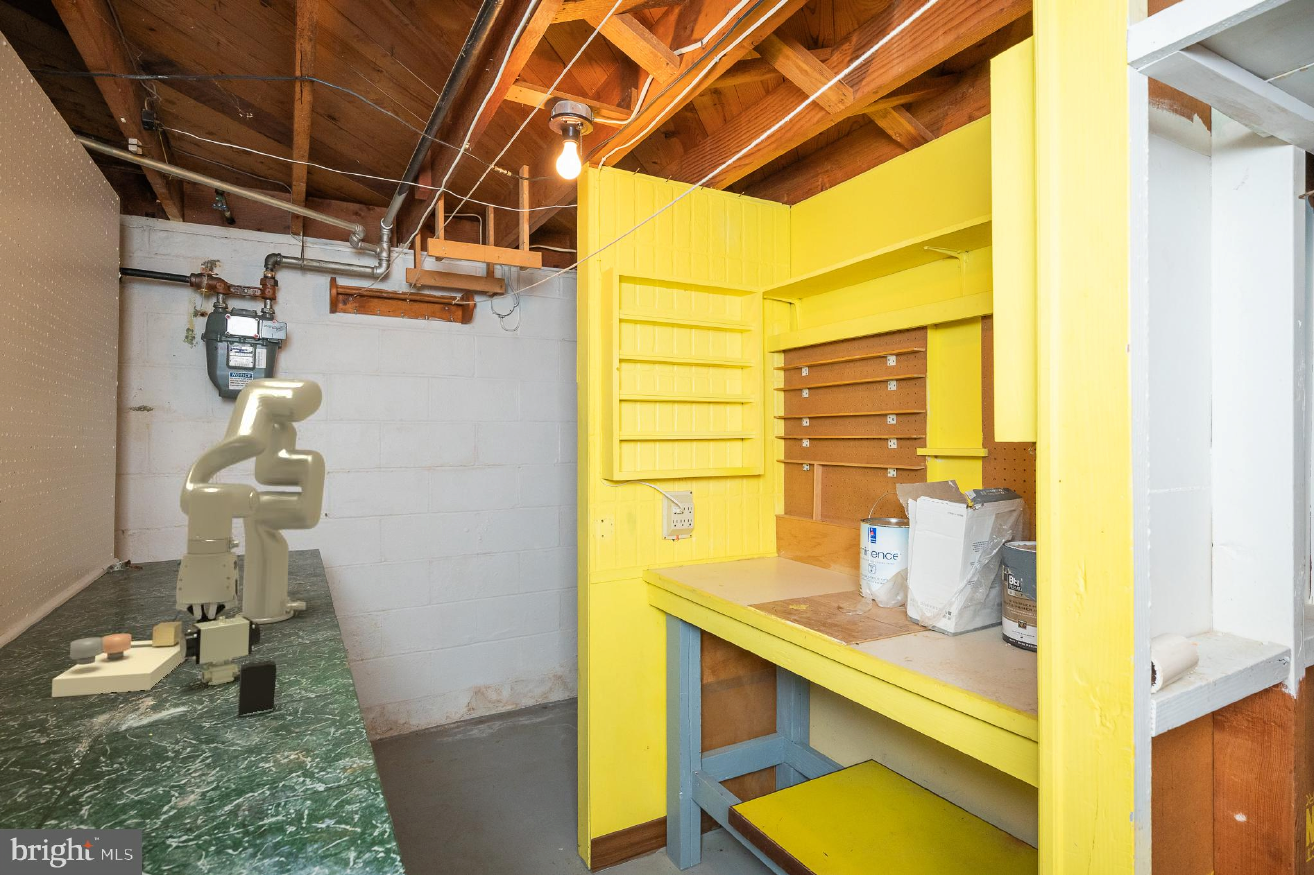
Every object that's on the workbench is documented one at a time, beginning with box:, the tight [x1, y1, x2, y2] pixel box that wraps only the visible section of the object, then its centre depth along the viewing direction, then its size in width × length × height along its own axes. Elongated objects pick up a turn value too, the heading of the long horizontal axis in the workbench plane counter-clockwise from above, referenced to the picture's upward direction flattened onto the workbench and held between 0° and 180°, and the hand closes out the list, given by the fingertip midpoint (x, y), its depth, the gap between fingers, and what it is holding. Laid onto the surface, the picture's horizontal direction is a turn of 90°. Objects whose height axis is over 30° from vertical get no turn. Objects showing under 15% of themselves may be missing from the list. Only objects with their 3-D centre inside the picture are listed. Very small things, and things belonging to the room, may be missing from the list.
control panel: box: [51, 639, 188, 698], centre depth 125 cm, size 14×22×3 cm, turn 18°
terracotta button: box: [101, 633, 132, 659], centre depth 124 cm, size 4×4×4 cm
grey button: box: [69, 636, 103, 665], centre depth 118 cm, size 4×4×4 cm
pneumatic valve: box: [180, 615, 261, 686], centre depth 122 cm, size 6×12×12 cm, turn 138°
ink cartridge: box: [237, 659, 277, 716], centre depth 109 cm, size 5×2×8 cm, turn 125°
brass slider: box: [152, 621, 183, 646], centre depth 133 cm, size 4×4×4 cm
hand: (205, 637), depth 135 cm, fingers closed
